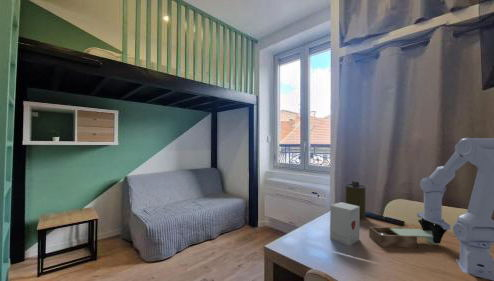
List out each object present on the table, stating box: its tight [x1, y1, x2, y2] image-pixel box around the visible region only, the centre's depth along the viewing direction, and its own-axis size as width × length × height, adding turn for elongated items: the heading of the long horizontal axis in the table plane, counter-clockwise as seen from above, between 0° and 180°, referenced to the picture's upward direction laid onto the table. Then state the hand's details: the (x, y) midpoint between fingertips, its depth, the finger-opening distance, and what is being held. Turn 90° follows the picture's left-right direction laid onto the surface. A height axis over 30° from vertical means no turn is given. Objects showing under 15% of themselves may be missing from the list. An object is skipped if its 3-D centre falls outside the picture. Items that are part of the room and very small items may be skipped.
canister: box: [344, 180, 367, 221], centre depth 124 cm, size 11×10×20 cm
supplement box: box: [329, 201, 360, 246], centre depth 94 cm, size 9×9×15 cm
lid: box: [390, 228, 440, 246], centre depth 91 cm, size 16×7×4 cm, turn 87°
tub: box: [368, 226, 418, 249], centre depth 91 cm, size 14×9×5 cm, turn 87°
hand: (432, 240), depth 91 cm, fingers closed on lid, 4 cm apart
